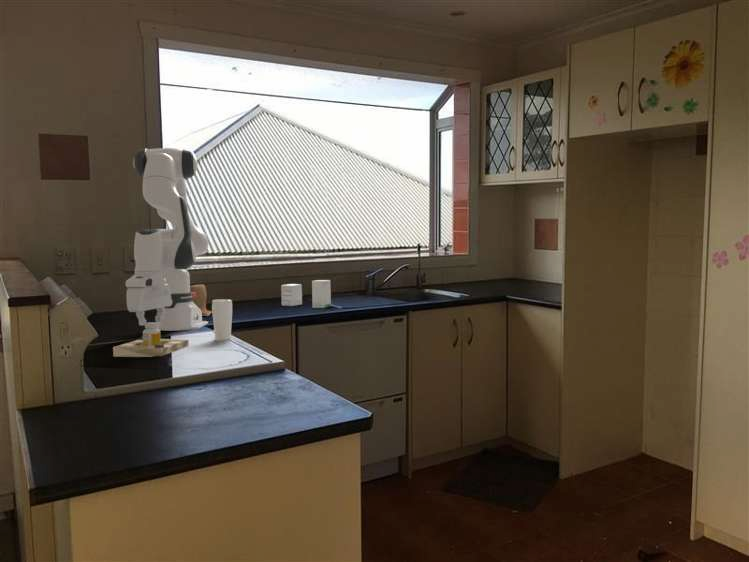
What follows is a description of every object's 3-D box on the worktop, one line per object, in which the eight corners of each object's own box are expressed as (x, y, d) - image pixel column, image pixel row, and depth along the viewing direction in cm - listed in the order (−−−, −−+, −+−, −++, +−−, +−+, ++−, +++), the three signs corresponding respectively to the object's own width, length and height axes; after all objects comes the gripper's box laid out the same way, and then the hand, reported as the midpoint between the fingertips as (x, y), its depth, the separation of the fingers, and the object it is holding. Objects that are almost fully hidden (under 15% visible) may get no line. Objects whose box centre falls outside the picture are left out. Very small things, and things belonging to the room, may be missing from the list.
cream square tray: (143, 347, 215) (142, 335, 214) (188, 348, 211) (188, 336, 211) (113, 356, 199) (112, 343, 198) (161, 358, 195) (161, 345, 195)
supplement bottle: (141, 354, 202) (140, 324, 201) (145, 351, 207) (144, 321, 207) (158, 354, 203) (157, 324, 202) (162, 350, 208) (161, 321, 207)
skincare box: (324, 314, 297) (323, 281, 296) (311, 313, 299) (310, 280, 298) (331, 312, 305) (331, 279, 304) (319, 311, 307) (318, 279, 306)
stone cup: (187, 315, 296) (187, 283, 295) (214, 315, 297) (213, 283, 296) (181, 320, 281) (180, 286, 280) (208, 319, 282) (207, 285, 281)
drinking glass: (211, 342, 223) (210, 299, 222) (231, 341, 226) (230, 298, 225) (214, 345, 217) (213, 301, 216) (234, 344, 220) (233, 300, 218)
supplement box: (291, 308, 320) (291, 283, 319) (302, 309, 316) (302, 284, 315) (281, 310, 314) (280, 284, 313) (292, 311, 310) (291, 285, 309)
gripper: (158, 278, 214) (159, 319, 215) (122, 281, 194) (123, 327, 195) (175, 278, 212) (176, 319, 213) (140, 282, 192) (142, 327, 193)
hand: (151, 323), depth 204 cm, fingers open, 8 cm apart
